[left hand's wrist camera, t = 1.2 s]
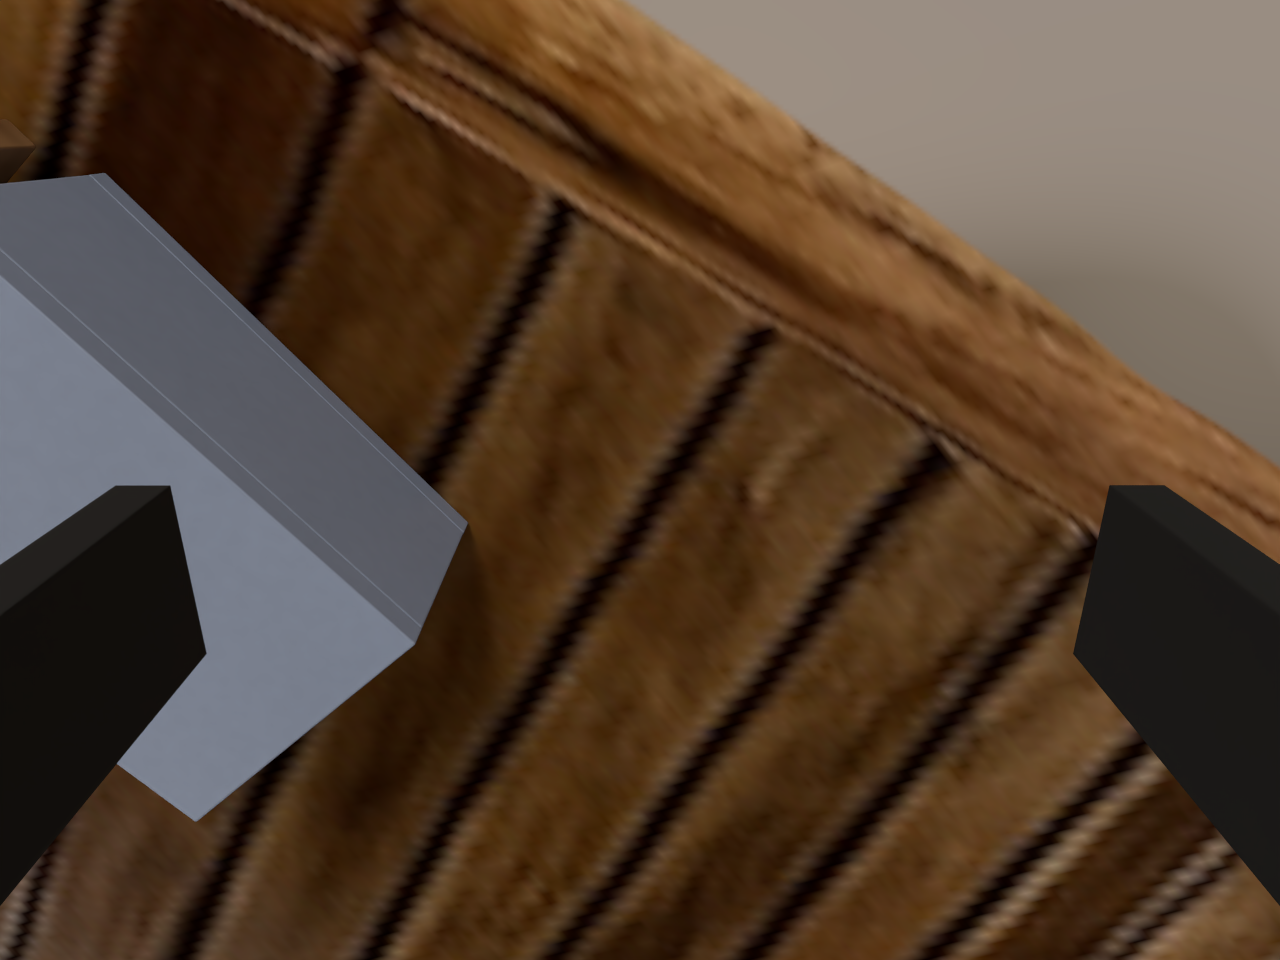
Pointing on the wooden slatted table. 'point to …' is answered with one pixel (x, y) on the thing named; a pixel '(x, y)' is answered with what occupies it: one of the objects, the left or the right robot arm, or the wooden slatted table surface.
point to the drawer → (12, 150)
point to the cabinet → (206, 477)
